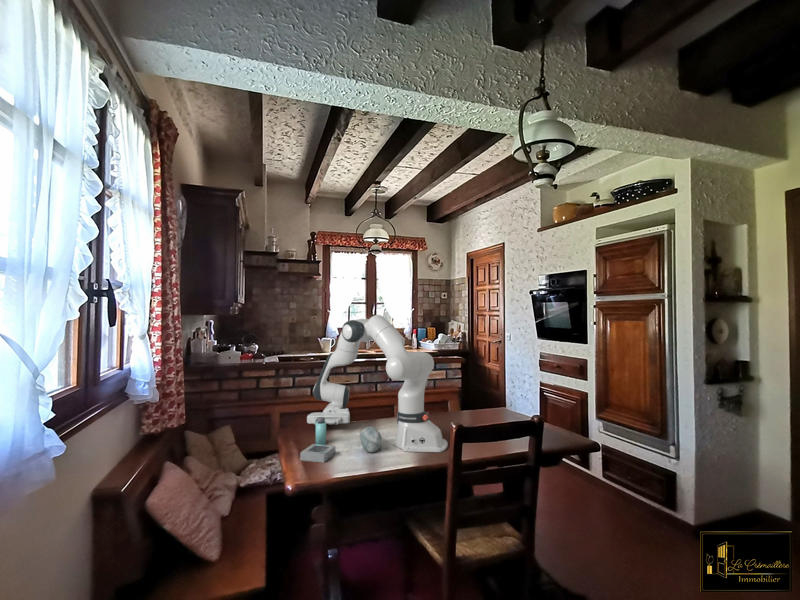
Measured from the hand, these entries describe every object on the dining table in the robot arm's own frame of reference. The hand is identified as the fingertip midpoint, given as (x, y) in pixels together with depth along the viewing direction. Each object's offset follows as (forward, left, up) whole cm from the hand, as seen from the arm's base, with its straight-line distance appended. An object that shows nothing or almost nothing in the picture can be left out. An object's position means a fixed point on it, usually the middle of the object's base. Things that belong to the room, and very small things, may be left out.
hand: (325, 422), depth 179 cm
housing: (-9, +24, -6) cm, 27 cm away
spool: (-26, +11, -6) cm, 28 cm away
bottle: (-3, +10, -6) cm, 12 cm away
